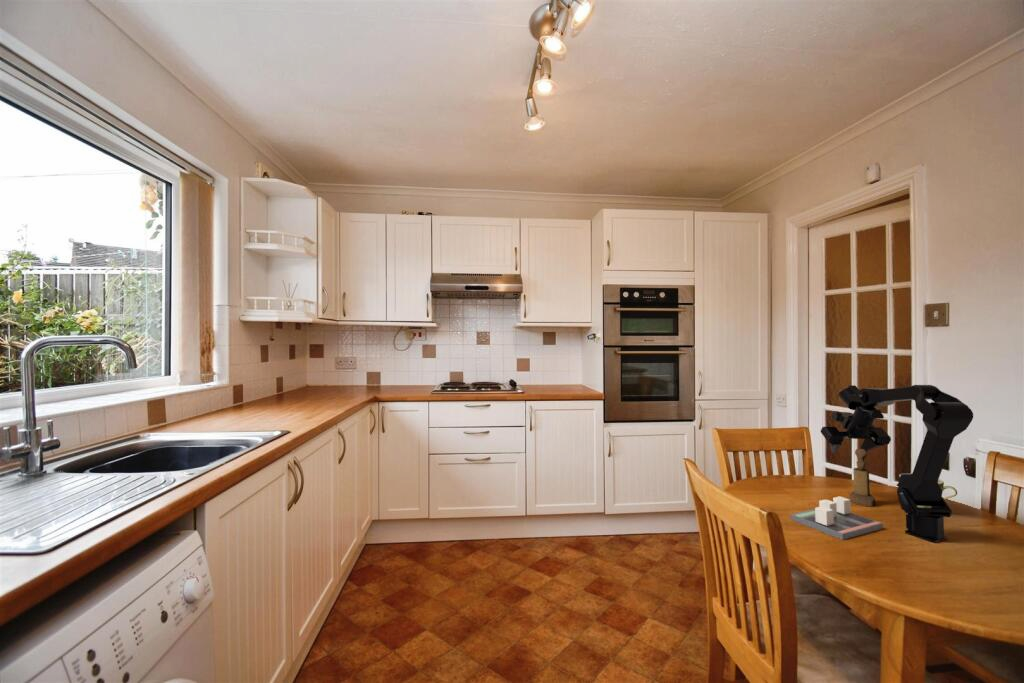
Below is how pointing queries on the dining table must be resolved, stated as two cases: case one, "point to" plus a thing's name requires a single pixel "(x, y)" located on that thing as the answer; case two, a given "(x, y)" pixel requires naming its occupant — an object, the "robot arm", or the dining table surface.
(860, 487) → the brown statuette
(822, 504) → the handle
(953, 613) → the dining table surface
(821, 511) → the handle
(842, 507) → the white block
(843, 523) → the breaker panel
